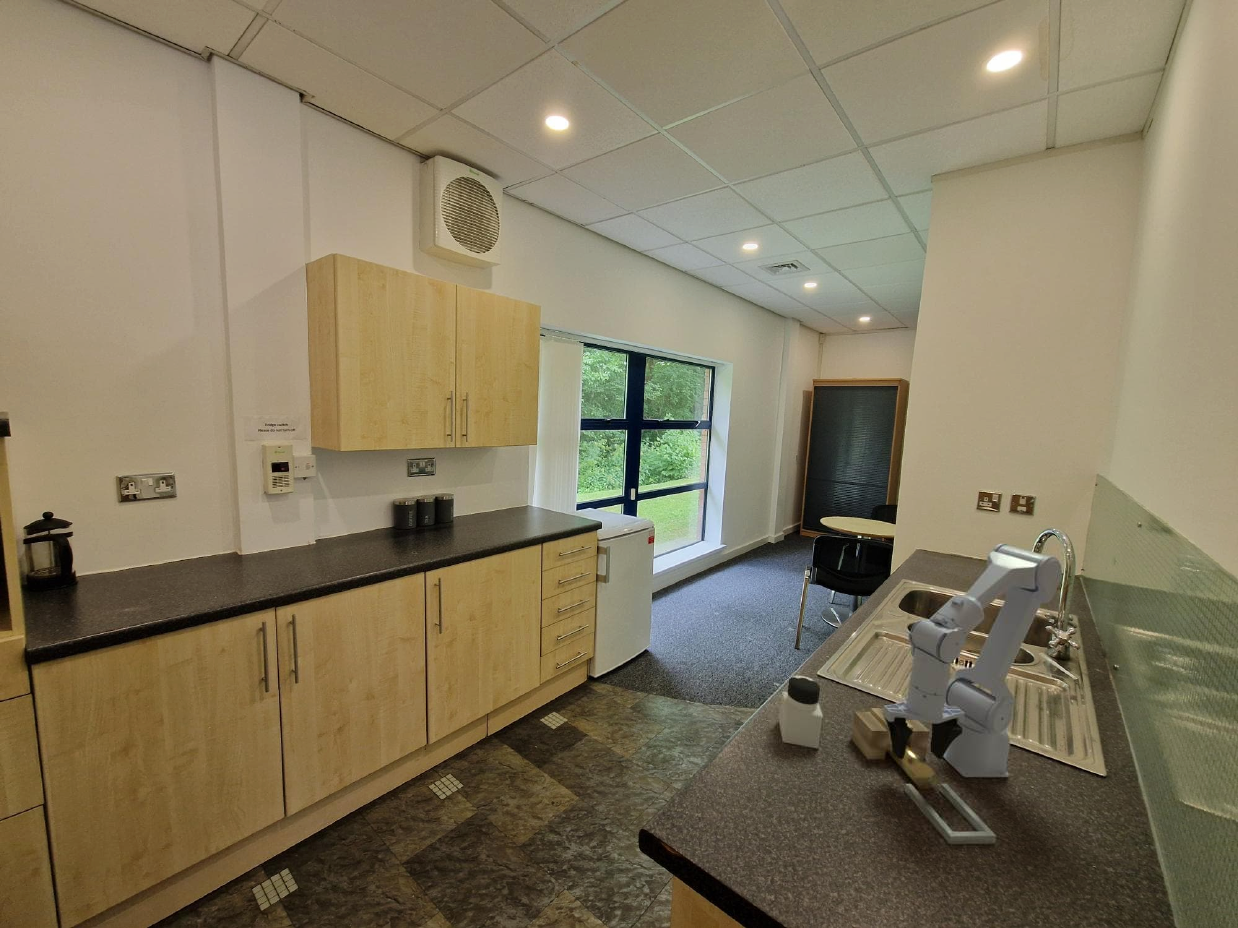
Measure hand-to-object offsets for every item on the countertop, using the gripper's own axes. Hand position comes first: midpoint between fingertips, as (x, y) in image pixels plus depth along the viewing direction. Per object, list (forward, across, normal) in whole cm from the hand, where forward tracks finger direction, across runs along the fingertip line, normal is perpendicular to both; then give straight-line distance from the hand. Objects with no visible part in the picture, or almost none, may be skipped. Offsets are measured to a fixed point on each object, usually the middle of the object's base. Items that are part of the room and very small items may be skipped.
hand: (916, 755), depth 92 cm
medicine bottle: (+5, +17, -12) cm, 21 cm away
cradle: (+5, 0, +8) cm, 9 cm away
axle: (+5, 0, -2) cm, 6 cm away
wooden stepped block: (+5, 0, -8) cm, 9 cm away
